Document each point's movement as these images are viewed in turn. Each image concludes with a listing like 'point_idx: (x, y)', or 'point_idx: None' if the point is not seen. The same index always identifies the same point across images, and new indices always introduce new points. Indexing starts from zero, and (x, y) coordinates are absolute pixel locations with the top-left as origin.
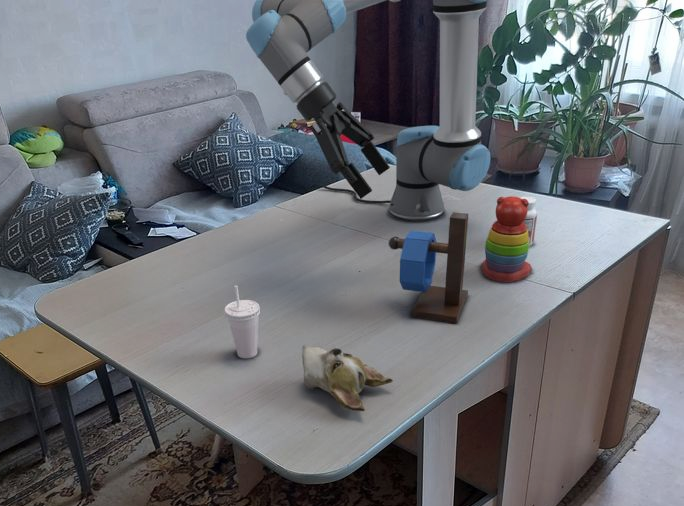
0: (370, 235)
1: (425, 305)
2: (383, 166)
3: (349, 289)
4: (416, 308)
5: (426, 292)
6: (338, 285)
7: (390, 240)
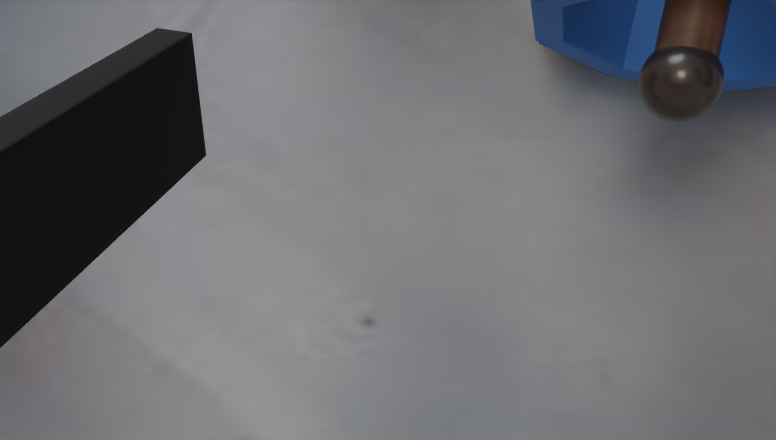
0: None
1: None
2: (169, 88)
3: (544, 352)
4: None
5: None
6: (508, 403)
7: (705, 101)
